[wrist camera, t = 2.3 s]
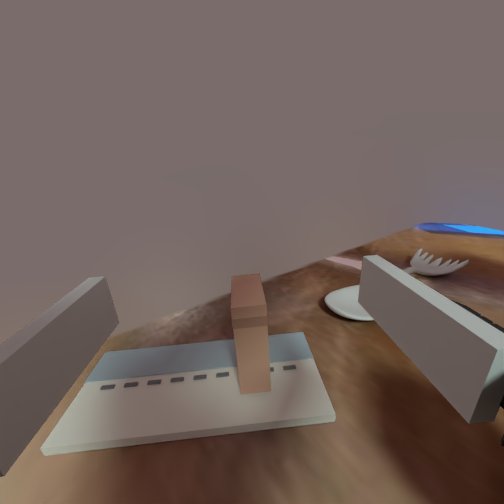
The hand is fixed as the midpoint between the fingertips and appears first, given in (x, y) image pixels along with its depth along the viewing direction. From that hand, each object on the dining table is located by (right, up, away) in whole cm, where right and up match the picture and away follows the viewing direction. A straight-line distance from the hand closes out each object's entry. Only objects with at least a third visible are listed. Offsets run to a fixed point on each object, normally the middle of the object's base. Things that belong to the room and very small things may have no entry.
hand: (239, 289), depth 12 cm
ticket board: (-5, -13, +14) cm, 20 cm away
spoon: (+27, -5, +30) cm, 40 cm away
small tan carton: (+1, -11, +14) cm, 17 cm away
